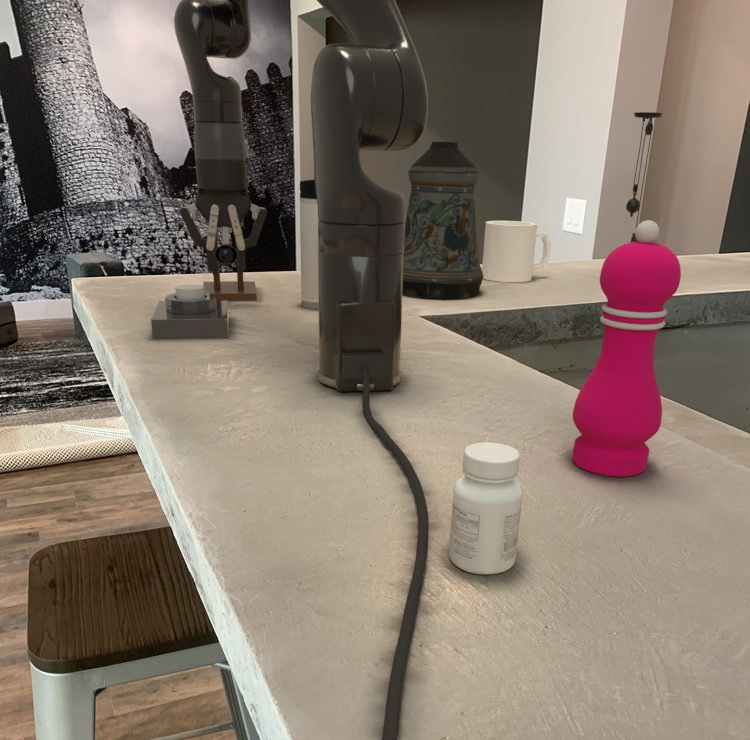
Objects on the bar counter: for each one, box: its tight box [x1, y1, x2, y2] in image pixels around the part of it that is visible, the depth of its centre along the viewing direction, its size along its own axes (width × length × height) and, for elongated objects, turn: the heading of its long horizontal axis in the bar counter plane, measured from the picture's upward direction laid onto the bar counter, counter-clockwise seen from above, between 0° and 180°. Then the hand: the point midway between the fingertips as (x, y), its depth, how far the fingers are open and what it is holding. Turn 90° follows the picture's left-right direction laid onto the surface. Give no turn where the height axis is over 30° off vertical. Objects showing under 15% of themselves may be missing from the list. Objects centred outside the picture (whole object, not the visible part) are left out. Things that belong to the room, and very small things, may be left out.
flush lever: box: [216, 227, 236, 266], centre depth 125 cm, size 14×3×3 cm, turn 10°
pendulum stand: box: [202, 219, 258, 302], centre depth 131 cm, size 12×9×14 cm
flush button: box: [174, 283, 205, 300], centre depth 107 cm, size 4×4×2 cm
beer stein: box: [402, 141, 483, 300], centre depth 137 cm, size 16×19×25 cm
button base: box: [150, 292, 230, 340], centre depth 109 cm, size 13×10×4 cm
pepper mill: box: [571, 219, 682, 478], centre depth 62 cm, size 7×7×20 cm
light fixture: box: [625, 111, 664, 242], centre depth 163 cm, size 10×8×31 cm
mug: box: [481, 220, 552, 283], centre depth 155 cm, size 14×10×11 cm
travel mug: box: [299, 179, 319, 310], centre depth 122 cm, size 6×7×20 cm
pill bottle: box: [448, 441, 524, 575], centre depth 49 cm, size 4×4×8 cm
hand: (227, 273), depth 122 cm, fingers closed on flush lever, 3 cm apart
